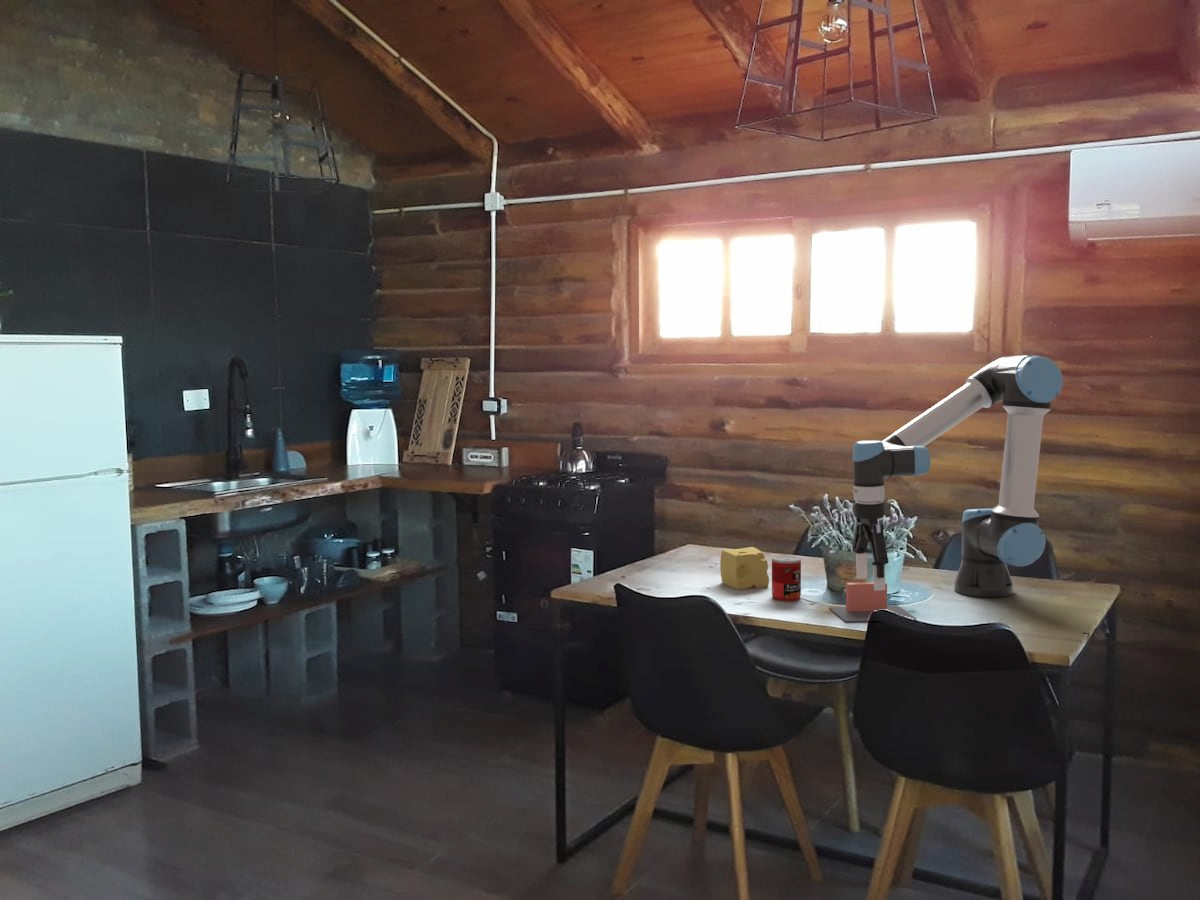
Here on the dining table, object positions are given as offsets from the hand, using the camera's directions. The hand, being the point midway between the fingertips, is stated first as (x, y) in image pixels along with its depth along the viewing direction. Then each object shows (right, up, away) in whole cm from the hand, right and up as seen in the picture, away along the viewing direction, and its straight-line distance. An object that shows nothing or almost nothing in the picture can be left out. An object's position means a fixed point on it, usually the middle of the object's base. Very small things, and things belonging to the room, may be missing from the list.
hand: (870, 584), depth 269 cm
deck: (-1, -7, 0) cm, 7 cm away
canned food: (-19, -6, +16) cm, 25 cm away
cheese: (-28, -5, +33) cm, 43 cm away
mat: (0, -7, -2) cm, 8 cm away
